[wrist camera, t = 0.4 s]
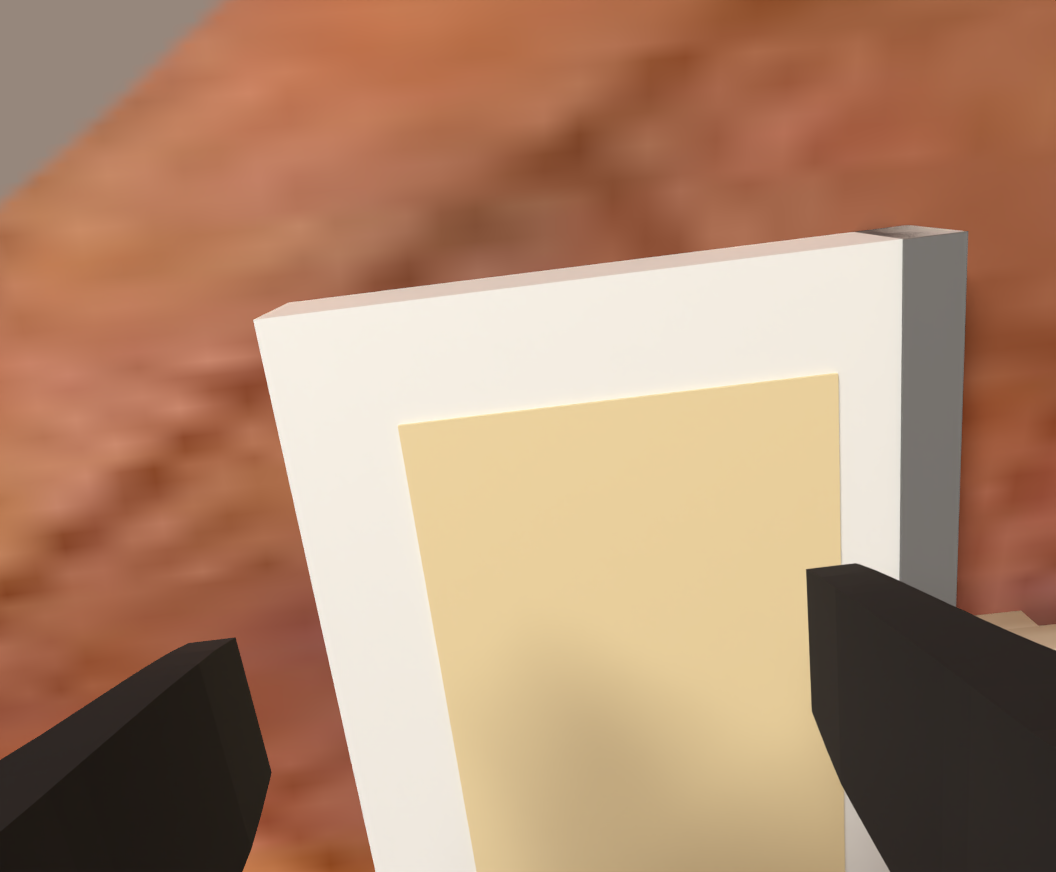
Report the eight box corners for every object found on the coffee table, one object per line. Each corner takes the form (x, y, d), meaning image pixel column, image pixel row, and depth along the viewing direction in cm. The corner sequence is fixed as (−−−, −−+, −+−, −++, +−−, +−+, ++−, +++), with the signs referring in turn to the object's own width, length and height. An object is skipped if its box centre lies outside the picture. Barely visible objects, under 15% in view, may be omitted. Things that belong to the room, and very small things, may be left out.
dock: (900, 925, 24) (943, 1010, 22) (426, 969, 25) (415, 1058, 22) (908, 225, 18) (968, 231, 16) (288, 302, 19) (251, 320, 16)
